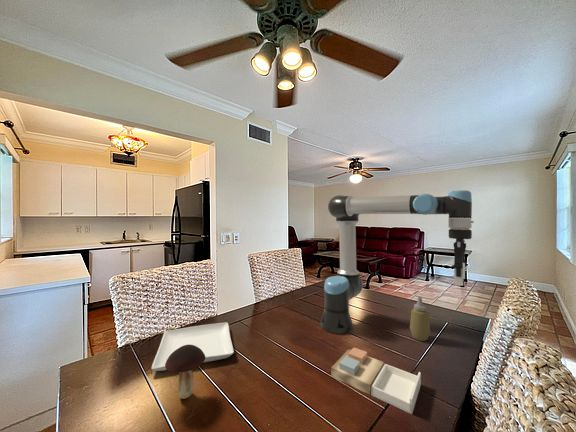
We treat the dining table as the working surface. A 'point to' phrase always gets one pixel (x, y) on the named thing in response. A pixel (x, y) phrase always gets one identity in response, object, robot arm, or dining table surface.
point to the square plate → (196, 343)
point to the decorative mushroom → (185, 367)
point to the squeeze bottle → (420, 321)
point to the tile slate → (349, 365)
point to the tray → (397, 387)
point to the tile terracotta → (358, 355)
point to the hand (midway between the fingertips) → (459, 281)
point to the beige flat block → (359, 373)
